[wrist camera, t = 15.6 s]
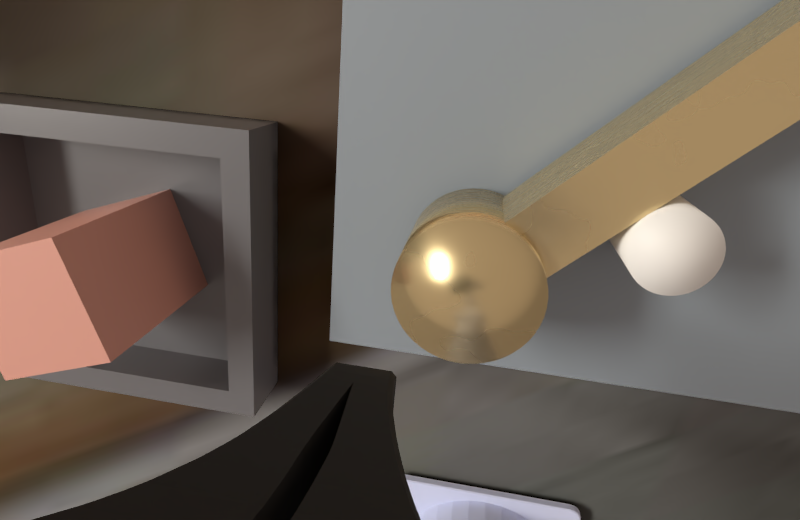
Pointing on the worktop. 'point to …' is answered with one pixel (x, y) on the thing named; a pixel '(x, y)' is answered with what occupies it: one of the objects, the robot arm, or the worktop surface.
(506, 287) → the crank
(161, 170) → the tray
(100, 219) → the block
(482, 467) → the worktop surface
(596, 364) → the board
